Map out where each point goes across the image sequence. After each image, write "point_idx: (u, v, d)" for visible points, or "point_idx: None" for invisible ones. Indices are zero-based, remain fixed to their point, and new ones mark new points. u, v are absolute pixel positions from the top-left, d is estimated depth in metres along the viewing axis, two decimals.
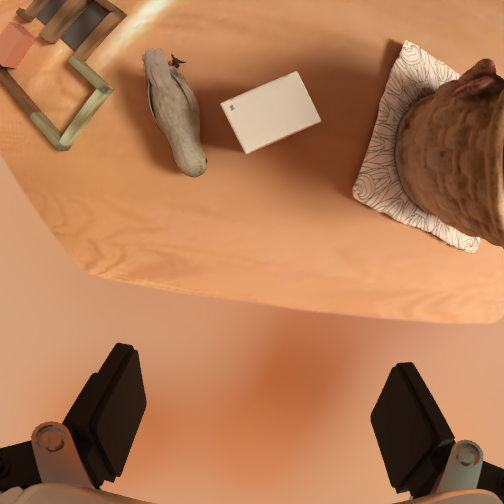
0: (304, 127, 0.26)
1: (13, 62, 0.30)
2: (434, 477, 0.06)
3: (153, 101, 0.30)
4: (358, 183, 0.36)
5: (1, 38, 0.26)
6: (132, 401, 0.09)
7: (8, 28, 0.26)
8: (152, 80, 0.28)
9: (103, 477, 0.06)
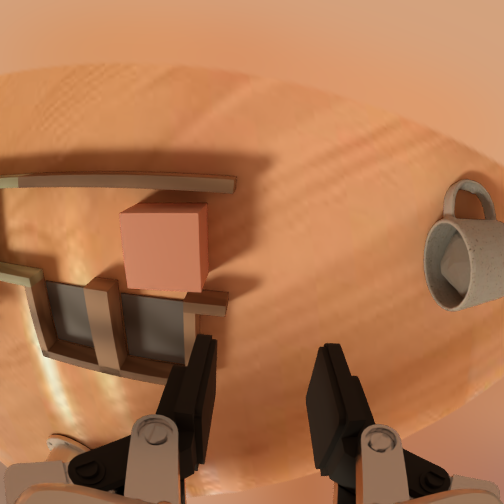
0: None
1: None
2: (345, 459, 0.07)
3: None
4: None
5: (187, 254, 0.22)
6: (212, 389, 0.10)
7: (190, 280, 0.23)
8: None
9: (194, 465, 0.07)
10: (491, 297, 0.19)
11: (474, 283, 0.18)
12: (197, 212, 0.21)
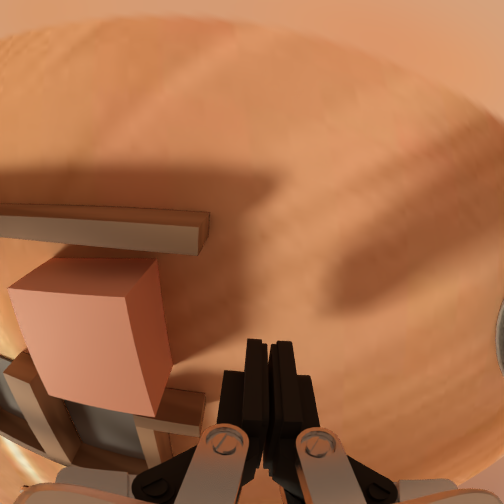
0: None
1: None
2: (282, 461, 0.07)
3: None
4: None
5: (119, 364, 0.11)
6: None
7: (134, 401, 0.11)
8: None
9: None
10: None
11: None
12: (124, 294, 0.10)
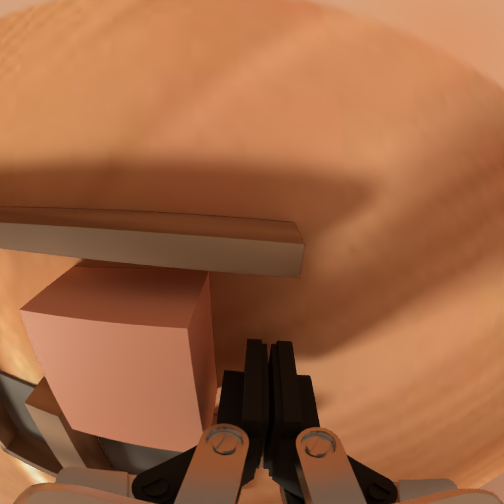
0: None
1: None
2: (282, 461, 0.07)
3: None
4: None
5: (170, 403, 0.09)
6: None
7: (183, 439, 0.09)
8: None
9: None
10: None
11: None
12: (185, 323, 0.08)
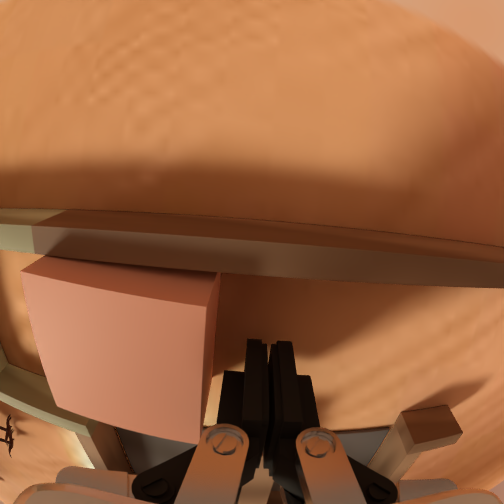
0: None
1: None
2: (282, 461, 0.07)
3: None
4: None
5: (172, 386, 0.09)
6: None
7: (177, 426, 0.09)
8: None
9: None
10: None
11: None
12: (203, 301, 0.08)
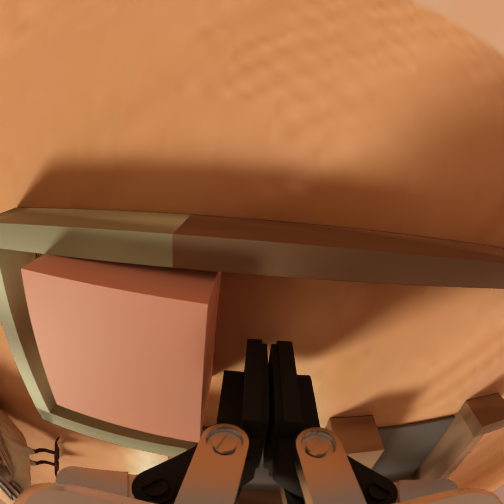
0: None
1: None
2: (282, 461, 0.07)
3: None
4: None
5: (172, 384, 0.09)
6: None
7: (178, 424, 0.09)
8: None
9: None
10: None
11: None
12: (205, 299, 0.08)
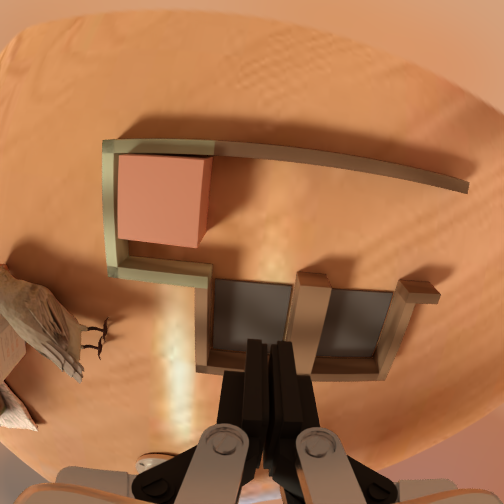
0: None
1: None
2: (282, 461, 0.07)
3: (39, 326, 0.22)
4: None
5: (186, 204, 0.20)
6: None
7: (186, 234, 0.21)
8: (53, 349, 0.22)
9: None
10: None
11: None
12: (203, 159, 0.19)
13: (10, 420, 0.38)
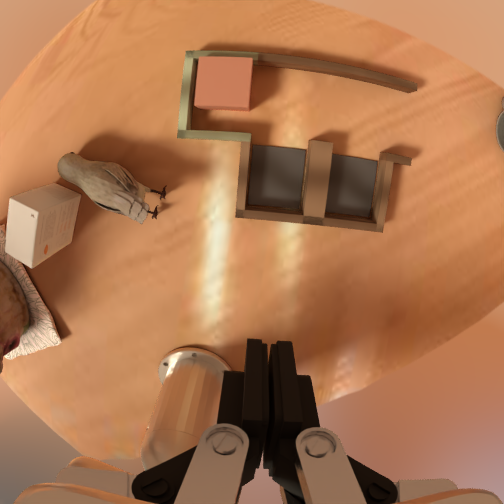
0: None
1: None
2: (282, 461, 0.07)
3: (113, 180, 0.32)
4: (1, 233, 0.38)
5: (242, 81, 0.30)
6: None
7: (241, 99, 0.31)
8: (124, 195, 0.32)
9: None
10: None
11: None
12: (251, 58, 0.29)
13: (30, 343, 0.47)
